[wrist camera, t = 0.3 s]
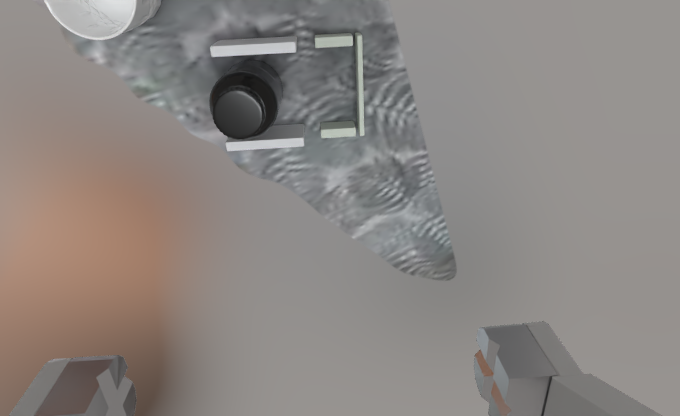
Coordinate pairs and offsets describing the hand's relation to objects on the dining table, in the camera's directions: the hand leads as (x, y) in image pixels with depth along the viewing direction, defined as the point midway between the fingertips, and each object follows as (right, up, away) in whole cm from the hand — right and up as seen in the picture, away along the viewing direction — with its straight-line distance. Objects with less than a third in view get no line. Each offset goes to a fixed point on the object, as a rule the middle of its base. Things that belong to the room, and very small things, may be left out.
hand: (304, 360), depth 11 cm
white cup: (-21, +27, +37) cm, 51 cm away
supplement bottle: (-9, +17, +43) cm, 47 cm away
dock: (0, +18, +43) cm, 46 cm away
